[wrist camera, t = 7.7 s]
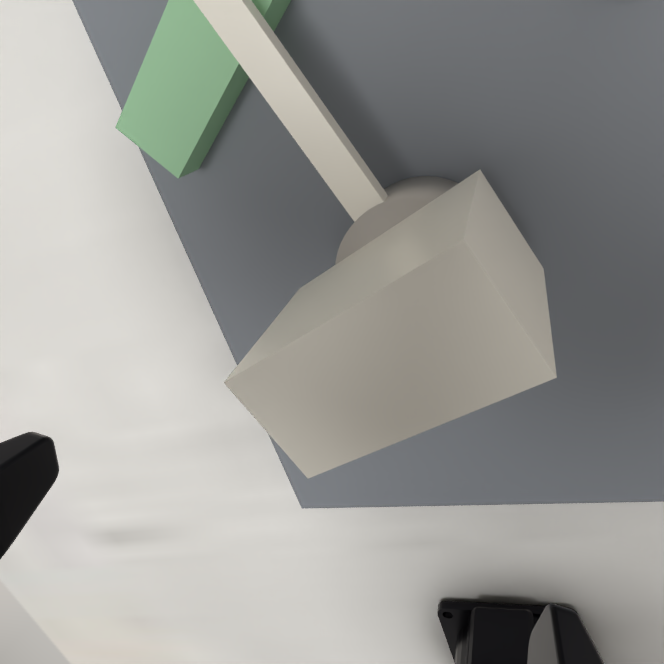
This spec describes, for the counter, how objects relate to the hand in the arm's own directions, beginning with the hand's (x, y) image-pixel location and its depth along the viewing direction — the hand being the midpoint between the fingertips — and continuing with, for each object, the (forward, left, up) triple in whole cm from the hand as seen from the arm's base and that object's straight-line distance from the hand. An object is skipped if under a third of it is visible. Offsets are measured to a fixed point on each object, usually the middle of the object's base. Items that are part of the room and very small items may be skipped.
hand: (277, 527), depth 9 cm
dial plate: (+1, -1, -12) cm, 12 cm away
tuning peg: (+5, 0, -10) cm, 11 cm away
